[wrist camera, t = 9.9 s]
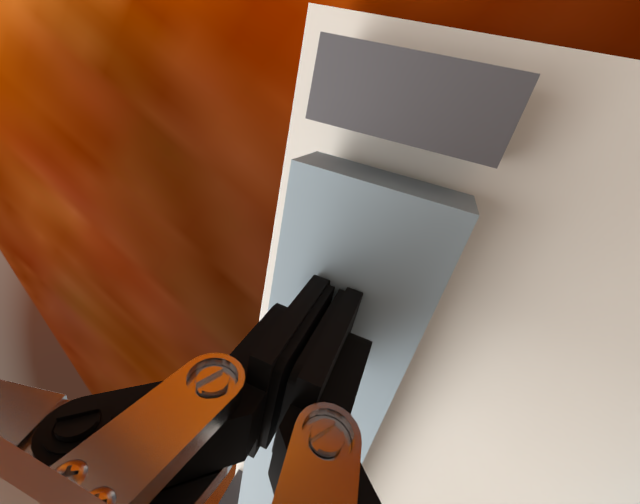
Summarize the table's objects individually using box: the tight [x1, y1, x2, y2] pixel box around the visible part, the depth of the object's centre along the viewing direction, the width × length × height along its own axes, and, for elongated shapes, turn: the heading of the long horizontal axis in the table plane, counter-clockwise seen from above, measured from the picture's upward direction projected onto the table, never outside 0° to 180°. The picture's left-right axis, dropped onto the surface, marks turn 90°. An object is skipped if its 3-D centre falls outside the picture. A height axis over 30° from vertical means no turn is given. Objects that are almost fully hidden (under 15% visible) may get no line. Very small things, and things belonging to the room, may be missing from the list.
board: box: [219, 3, 640, 504], centre depth 13 cm, size 28×24×6 cm
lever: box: [238, 151, 480, 504], centre depth 14 cm, size 22×5×2 cm, turn 168°
